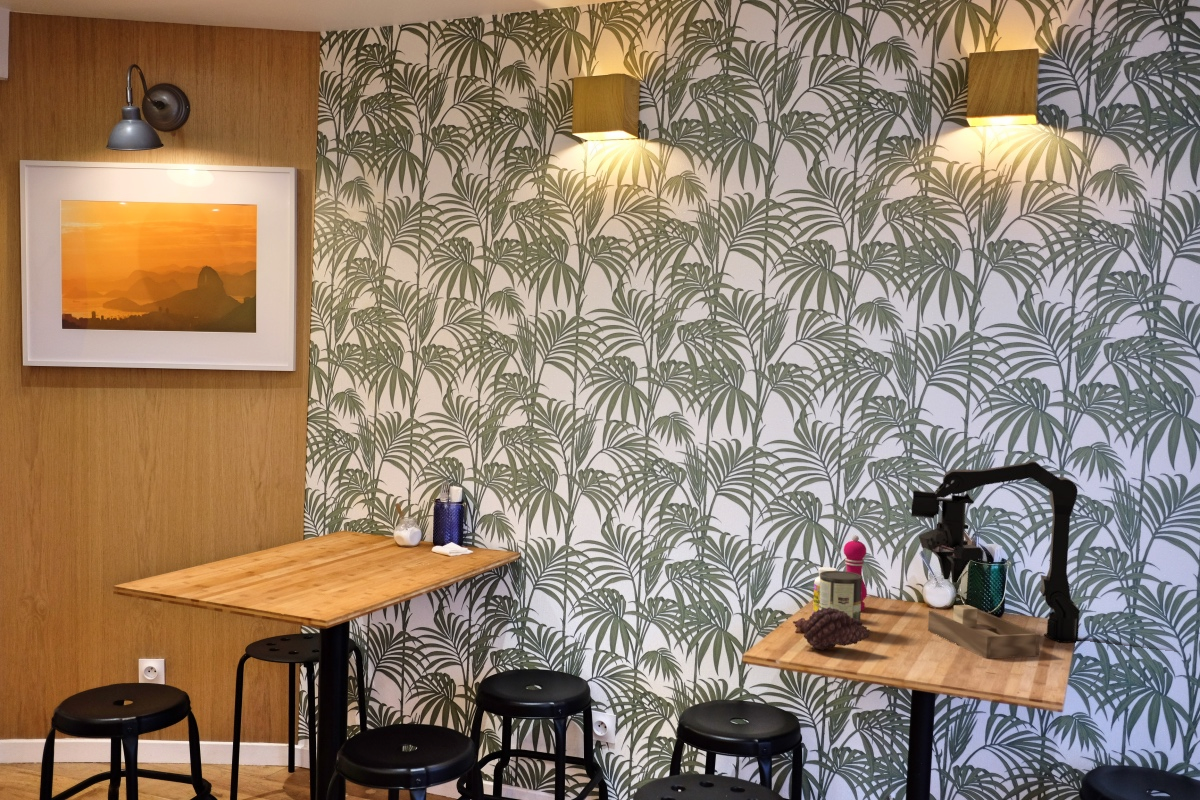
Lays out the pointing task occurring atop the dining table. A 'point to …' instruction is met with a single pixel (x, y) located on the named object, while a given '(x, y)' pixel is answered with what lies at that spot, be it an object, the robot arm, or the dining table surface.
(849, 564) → the pepper mill
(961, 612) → the beech block
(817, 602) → the supplement bottle
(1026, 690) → the dining table surface
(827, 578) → the coffee can
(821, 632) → the pine cone
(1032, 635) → the tray
